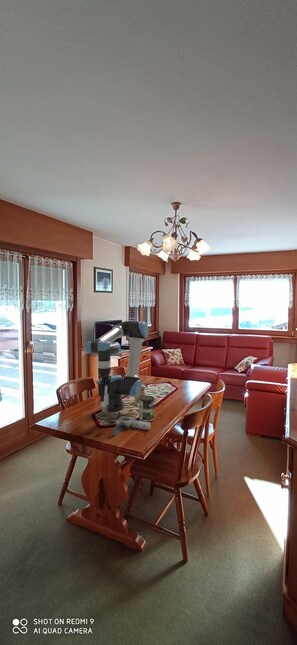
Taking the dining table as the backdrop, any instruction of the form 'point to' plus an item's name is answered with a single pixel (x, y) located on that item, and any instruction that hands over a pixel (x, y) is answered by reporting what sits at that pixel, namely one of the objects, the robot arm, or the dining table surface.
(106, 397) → the pin
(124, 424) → the grey flat branched piece
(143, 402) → the coffee can
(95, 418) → the dining table surface
